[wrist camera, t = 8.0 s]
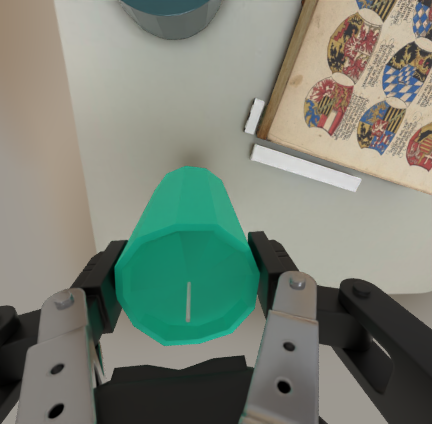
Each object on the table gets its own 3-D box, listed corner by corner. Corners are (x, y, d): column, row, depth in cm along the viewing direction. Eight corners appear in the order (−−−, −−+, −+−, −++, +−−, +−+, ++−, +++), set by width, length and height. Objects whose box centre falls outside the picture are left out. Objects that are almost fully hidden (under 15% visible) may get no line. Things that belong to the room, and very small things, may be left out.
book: (233, 152, 34) (396, 203, 39) (241, 159, 28) (432, 218, 33) (307, -71, 26) (501, 28, 31) (338, -126, 20) (573, 7, 25)
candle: (211, 245, 21) (230, 391, 10) (143, 222, 20) (78, 361, 9) (241, 182, 19) (305, 276, 8) (168, 152, 18) (124, 215, 7)
